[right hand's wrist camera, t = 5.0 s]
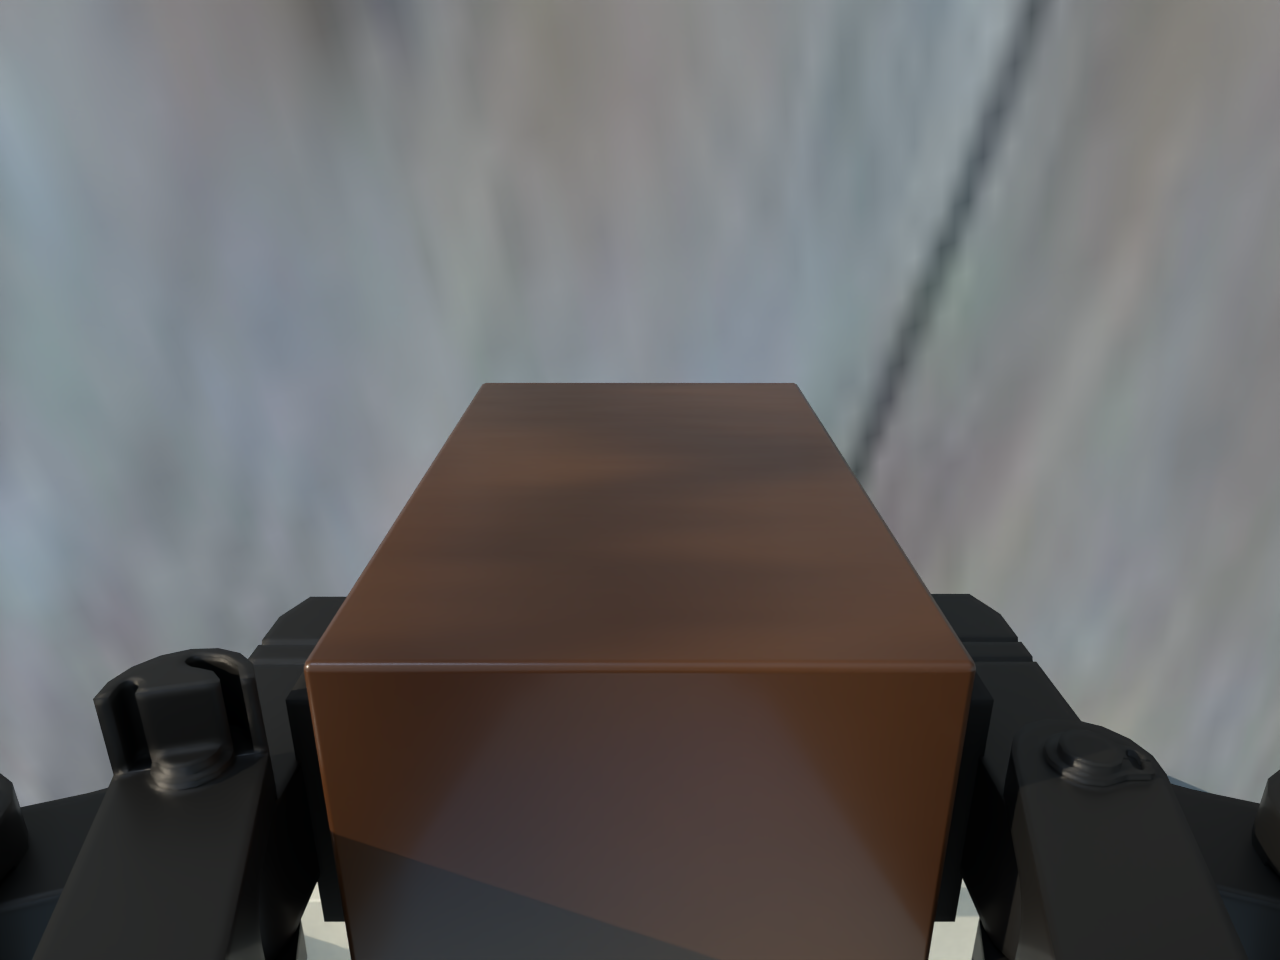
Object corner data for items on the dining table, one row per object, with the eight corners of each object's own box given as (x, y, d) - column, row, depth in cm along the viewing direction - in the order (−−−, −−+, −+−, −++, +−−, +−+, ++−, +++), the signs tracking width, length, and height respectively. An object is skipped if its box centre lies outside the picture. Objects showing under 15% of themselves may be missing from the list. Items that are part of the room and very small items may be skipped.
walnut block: (797, 382, 14) (981, 664, 6) (778, 653, 16) (905, 1119, 8) (482, 381, 14) (298, 664, 6) (499, 653, 16) (373, 1119, 8)
